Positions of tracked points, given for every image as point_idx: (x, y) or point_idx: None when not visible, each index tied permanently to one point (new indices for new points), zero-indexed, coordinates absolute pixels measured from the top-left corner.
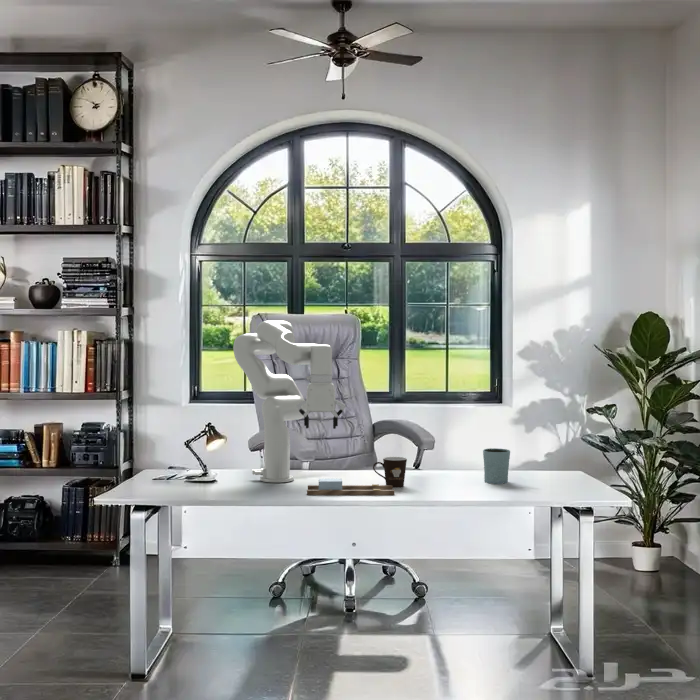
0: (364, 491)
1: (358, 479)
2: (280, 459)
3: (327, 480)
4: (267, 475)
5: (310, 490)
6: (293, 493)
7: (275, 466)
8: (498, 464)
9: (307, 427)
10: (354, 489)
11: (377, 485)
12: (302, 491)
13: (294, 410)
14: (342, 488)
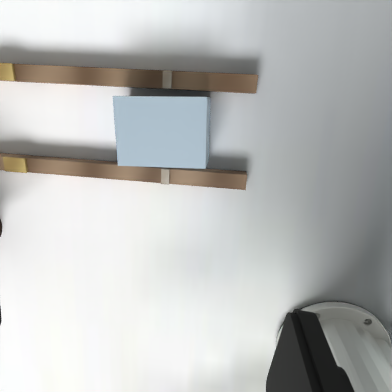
0: (46, 66)
1: (85, 327)
2: (353, 378)
3: (171, 121)
4: (375, 341)
5: (244, 74)
6: (304, 110)
7: (362, 355)
8: None
9: (295, 315)
10: (89, 160)
11: (8, 156)
12: (266, 149)
13: None
14: None
